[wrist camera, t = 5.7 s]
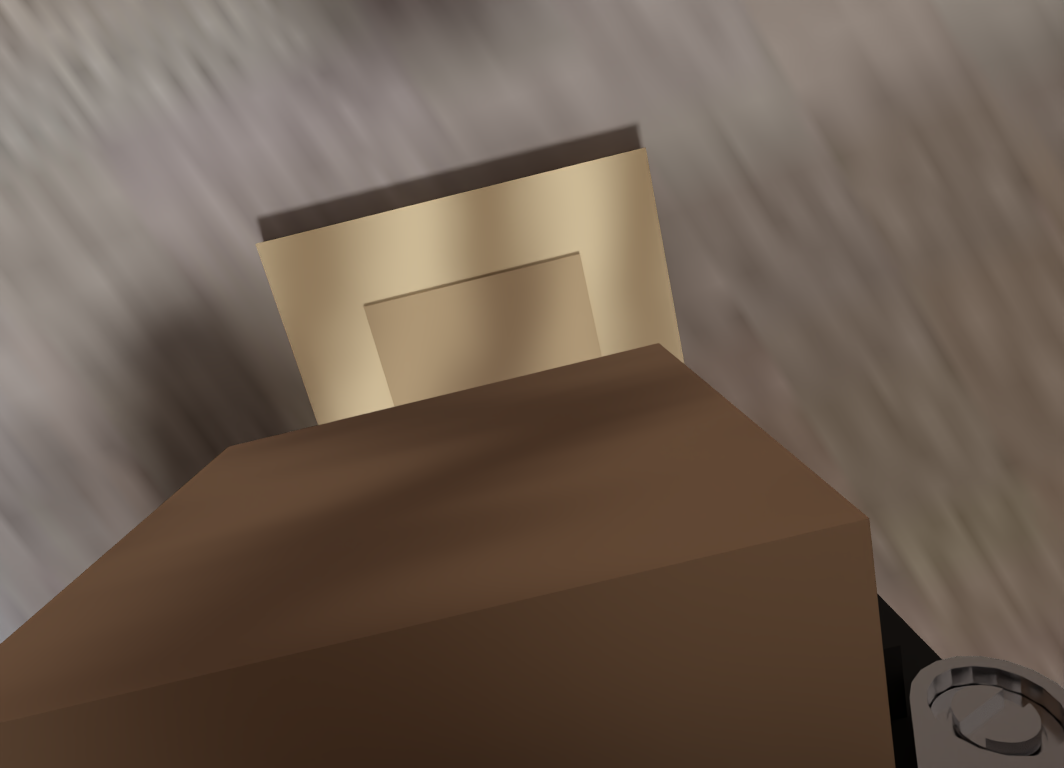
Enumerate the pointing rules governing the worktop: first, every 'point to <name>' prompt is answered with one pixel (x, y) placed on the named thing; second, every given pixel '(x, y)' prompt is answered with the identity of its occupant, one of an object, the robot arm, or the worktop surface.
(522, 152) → the worktop surface
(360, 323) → the board
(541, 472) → the block
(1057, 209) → the worktop surface
